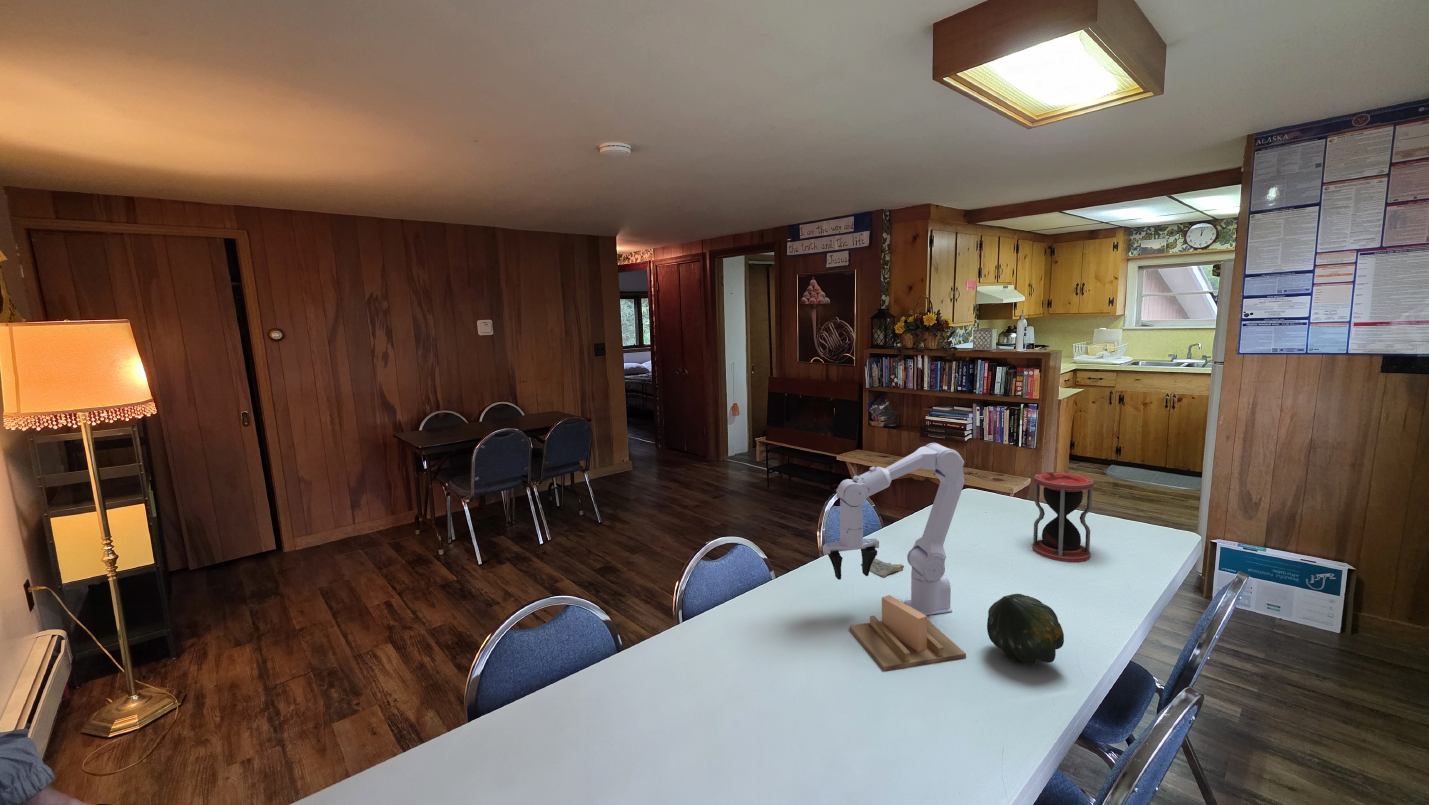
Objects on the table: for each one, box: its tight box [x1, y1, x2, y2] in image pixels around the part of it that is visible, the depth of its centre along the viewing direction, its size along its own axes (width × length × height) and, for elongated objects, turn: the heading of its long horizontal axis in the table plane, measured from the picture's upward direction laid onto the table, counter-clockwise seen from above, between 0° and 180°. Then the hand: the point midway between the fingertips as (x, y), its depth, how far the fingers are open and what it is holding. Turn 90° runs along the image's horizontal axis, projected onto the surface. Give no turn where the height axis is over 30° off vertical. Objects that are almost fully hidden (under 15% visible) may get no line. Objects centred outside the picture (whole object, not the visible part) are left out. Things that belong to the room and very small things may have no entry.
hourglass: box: [1031, 471, 1095, 564], centre depth 180 cm, size 16×16×25 cm
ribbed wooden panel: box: [848, 615, 967, 672], centre depth 133 cm, size 20×18×3 cm
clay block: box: [881, 594, 928, 652], centre depth 133 cm, size 2×12×8 cm, turn 26°
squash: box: [986, 593, 1065, 665], centre depth 125 cm, size 14×15×15 cm
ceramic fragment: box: [860, 557, 905, 578], centre depth 174 cm, size 11×3×10 cm
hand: (851, 576), depth 147 cm, fingers open, 7 cm apart
